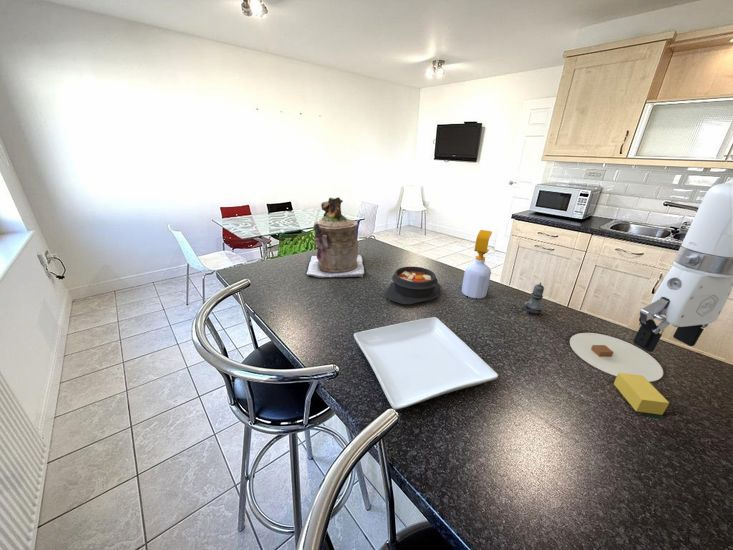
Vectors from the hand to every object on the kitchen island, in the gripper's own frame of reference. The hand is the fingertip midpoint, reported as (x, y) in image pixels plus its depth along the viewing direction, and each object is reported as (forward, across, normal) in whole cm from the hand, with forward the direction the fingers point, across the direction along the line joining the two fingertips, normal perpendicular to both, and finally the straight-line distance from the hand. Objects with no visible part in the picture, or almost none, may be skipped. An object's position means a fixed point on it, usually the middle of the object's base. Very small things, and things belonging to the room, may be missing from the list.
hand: (662, 344), depth 56 cm
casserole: (+18, -27, +60) cm, 68 cm away
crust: (+17, +11, +16) cm, 26 cm away
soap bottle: (+18, -4, +56) cm, 59 cm away
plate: (+18, +14, +16) cm, 27 cm away
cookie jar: (+18, -53, +90) cm, 106 cm away
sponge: (+18, +4, +2) cm, 19 cm away
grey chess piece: (+18, +8, +39) cm, 44 cm away
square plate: (+18, -39, +23) cm, 49 cm away
